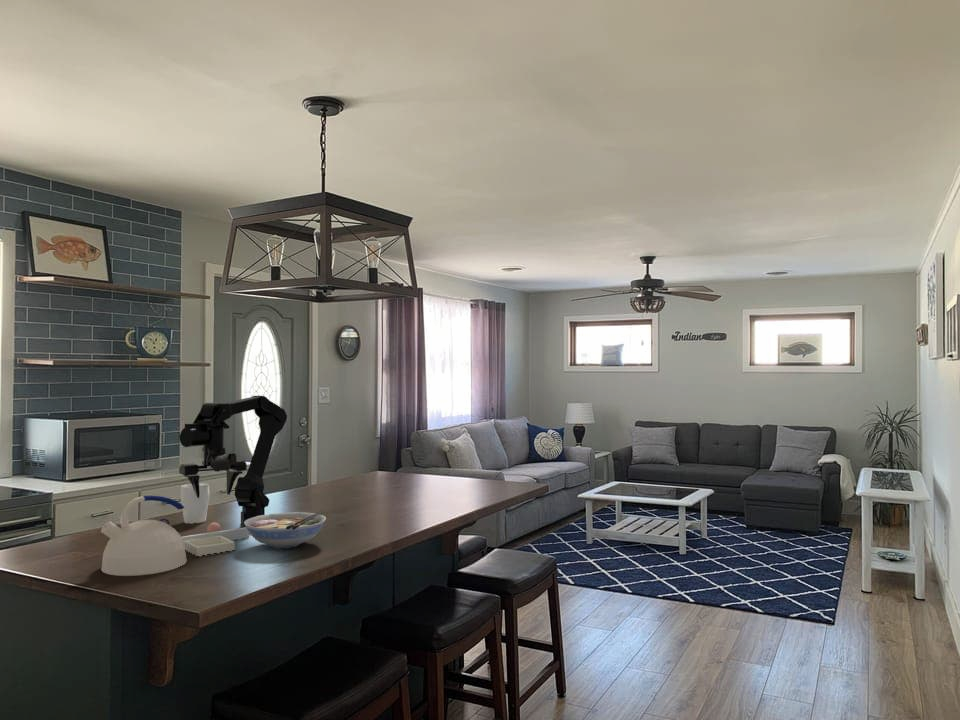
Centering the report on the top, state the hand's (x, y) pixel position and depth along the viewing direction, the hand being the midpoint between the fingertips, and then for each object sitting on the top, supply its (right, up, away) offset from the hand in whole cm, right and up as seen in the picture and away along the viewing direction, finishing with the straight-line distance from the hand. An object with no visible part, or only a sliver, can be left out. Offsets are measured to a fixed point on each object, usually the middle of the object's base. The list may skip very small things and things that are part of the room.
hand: (213, 496), depth 228 cm
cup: (-14, -12, +21) cm, 28 cm away
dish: (+5, -12, -18) cm, 22 cm away
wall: (+4, -12, -9) cm, 15 cm away
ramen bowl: (+25, -12, -13) cm, 31 cm away
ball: (0, -10, 0) cm, 10 cm away
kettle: (-6, -12, -34) cm, 36 cm away
